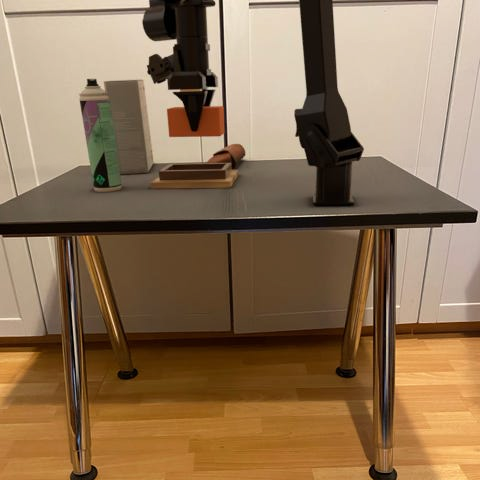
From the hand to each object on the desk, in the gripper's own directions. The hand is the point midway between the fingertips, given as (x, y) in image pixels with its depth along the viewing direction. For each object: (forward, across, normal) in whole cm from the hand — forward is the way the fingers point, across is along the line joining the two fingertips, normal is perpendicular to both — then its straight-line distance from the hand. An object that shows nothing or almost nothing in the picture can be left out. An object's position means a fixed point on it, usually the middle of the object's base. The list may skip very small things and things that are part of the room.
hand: (197, 129), depth 95 cm
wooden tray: (+10, -2, -1) cm, 11 cm away
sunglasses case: (+11, -24, +2) cm, 27 cm away
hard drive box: (+11, -20, -20) cm, 31 cm away
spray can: (+11, +4, -18) cm, 22 cm away
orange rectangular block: (+1, 0, 0) cm, 1 cm away
